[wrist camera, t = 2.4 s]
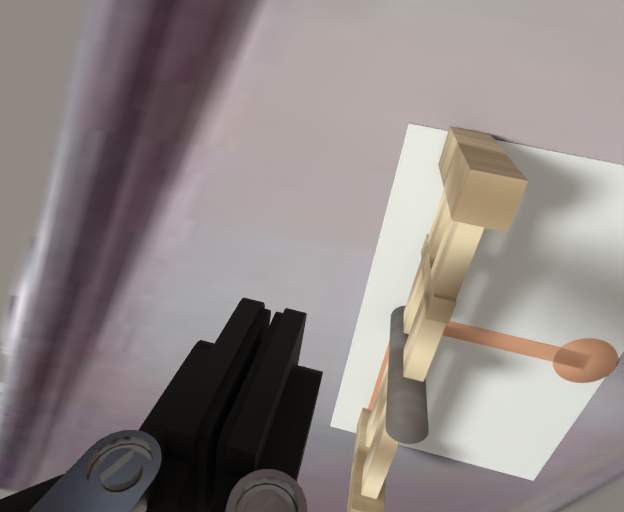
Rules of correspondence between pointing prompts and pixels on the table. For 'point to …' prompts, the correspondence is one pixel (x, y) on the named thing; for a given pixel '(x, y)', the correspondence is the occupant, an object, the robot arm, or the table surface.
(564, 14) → the table surface
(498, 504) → the table surface
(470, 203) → the fence gate
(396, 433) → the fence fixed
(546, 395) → the card
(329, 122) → the table surface
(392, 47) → the table surface
